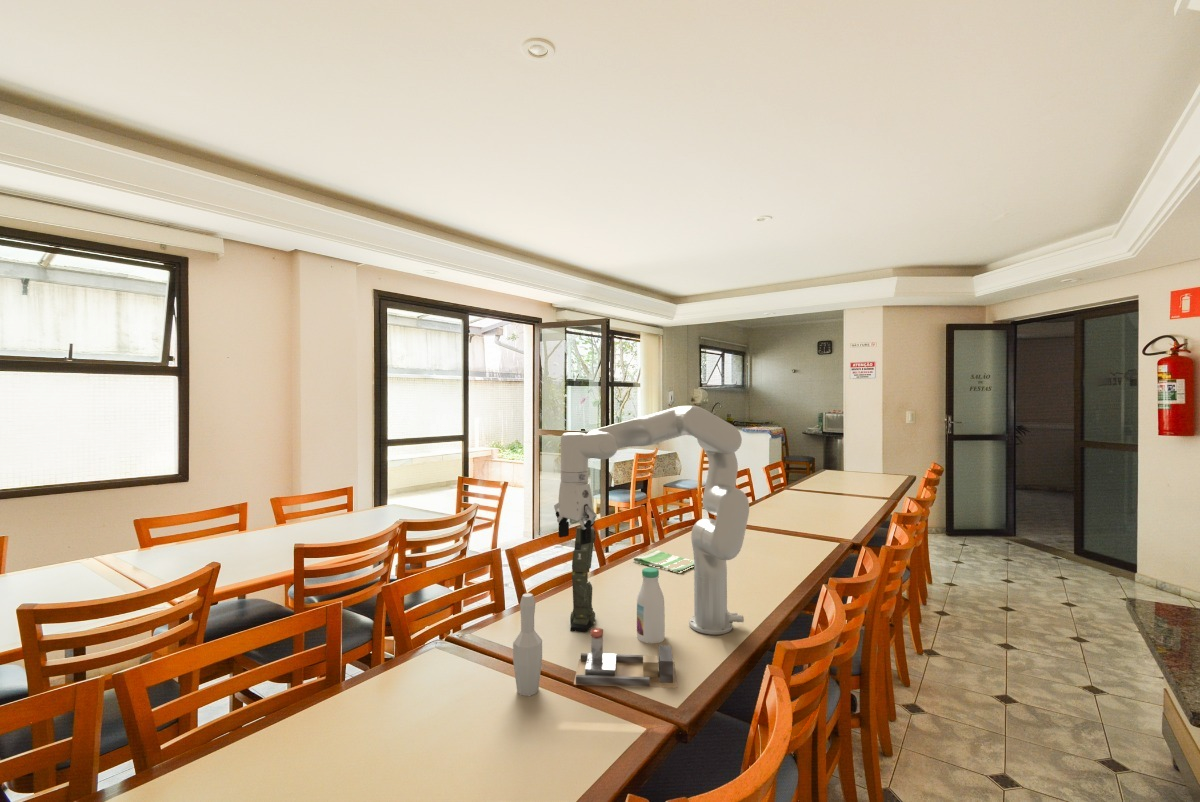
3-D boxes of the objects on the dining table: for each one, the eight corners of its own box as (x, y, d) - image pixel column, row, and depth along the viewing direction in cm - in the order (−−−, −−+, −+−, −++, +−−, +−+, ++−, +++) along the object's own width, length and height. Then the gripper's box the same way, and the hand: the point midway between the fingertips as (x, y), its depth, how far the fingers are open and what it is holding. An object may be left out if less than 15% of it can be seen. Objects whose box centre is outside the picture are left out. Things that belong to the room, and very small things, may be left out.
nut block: (657, 670, 128) (657, 655, 128) (658, 677, 125) (658, 662, 125) (643, 669, 129) (643, 655, 129) (643, 677, 125) (643, 662, 125)
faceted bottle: (529, 701, 117) (529, 602, 118) (508, 692, 121) (507, 596, 121) (547, 687, 123) (546, 593, 123) (526, 680, 126) (525, 588, 126)
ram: (616, 663, 131) (616, 624, 131) (614, 680, 123) (614, 638, 123) (588, 662, 132) (588, 623, 132) (585, 679, 124) (585, 637, 124)
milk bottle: (667, 637, 149) (667, 566, 149) (661, 649, 142) (661, 575, 142) (640, 633, 152) (640, 564, 152) (633, 645, 144) (633, 572, 144)
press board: (674, 666, 132) (674, 642, 132) (678, 693, 120) (677, 665, 120) (579, 663, 134) (579, 639, 134) (573, 689, 122) (573, 662, 122)
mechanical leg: (587, 635, 149) (592, 525, 156) (562, 632, 150) (569, 524, 157) (597, 627, 162) (601, 526, 169) (574, 625, 163) (579, 525, 170)
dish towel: (679, 575, 204) (679, 568, 204) (632, 563, 219) (632, 557, 219) (703, 565, 217) (703, 558, 217) (657, 554, 233) (656, 548, 233)
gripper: (605, 479, 141) (605, 543, 141) (566, 473, 154) (566, 532, 154) (583, 482, 136) (583, 549, 136) (544, 475, 149) (545, 536, 149)
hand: (574, 539), depth 145 cm, fingers open, 9 cm apart
